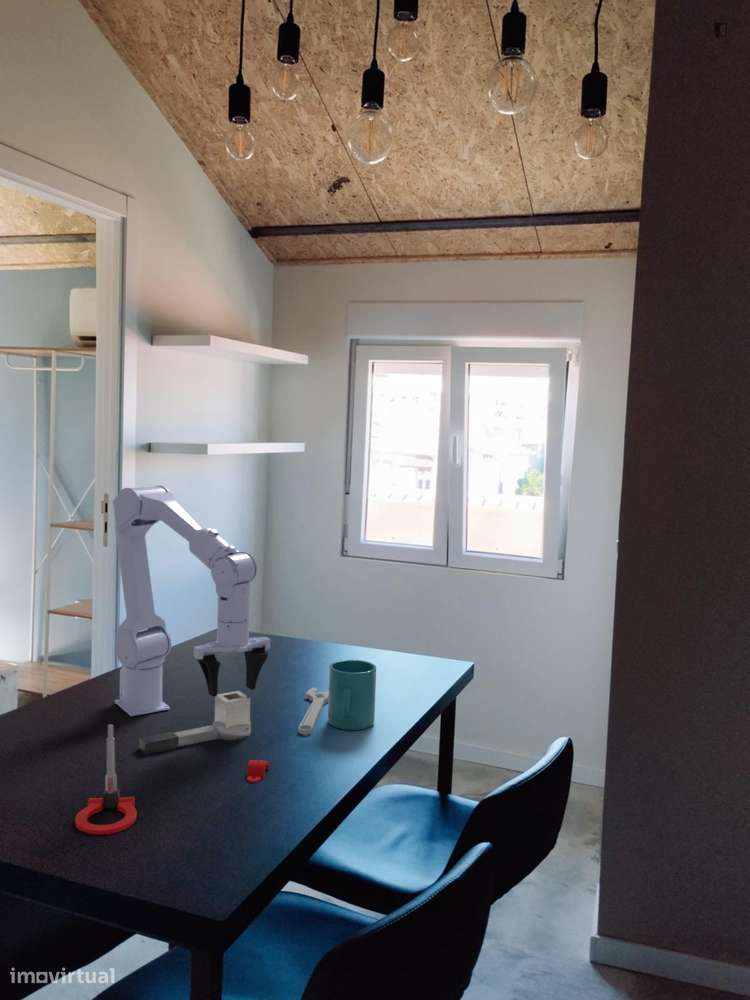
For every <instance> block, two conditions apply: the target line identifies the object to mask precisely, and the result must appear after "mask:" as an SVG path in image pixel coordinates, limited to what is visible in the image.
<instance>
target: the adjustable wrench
mask: <svg viewBox="0 0 750 1000" xmlns="http://www.w3.org/2000/svg"><path fill="white" fill-rule="evenodd" d="M327 689H328V690H326V691H319V690H318V688H317V687H315V686H313V687H311V688H309V689H308V690H307V692H305V693H304V694H305V695H304V699H305V698H306V699H310V700H311V701H313V702H311V701H310V700H309V701H310V702H311V704H310V705H309V707H308V709H307V711H306V712H305V715H304V716H303V718H302V720H301V721H300V724H299V725H298V732H299V733H300V734H303V735H302V736H308V735H307V734H310V735H312V734H313V733H312V732H314V730H315V728H316V725H317V723H316V722H318V721H317V720H319V718H320V716H321V713H322V711H323V709H322V708H324V706H325V705H326V704H328V703H327V702H328V698H329V685H328V688H327ZM306 699H305V700H306ZM325 703H326V704H325ZM324 704H325V705H324ZM323 705H324V706H323ZM321 710H322V711H321ZM320 712H321V713H320ZM319 715H320V716H319ZM318 717H319V718H318ZM314 727H315V728H314ZM313 729H314V730H313ZM299 733H298V734H299ZM311 733H312V734H311ZM300 734H299V735H300Z"/></svg>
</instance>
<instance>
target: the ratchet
mask: <svg viewBox="0 0 750 1000" xmlns="http://www.w3.org/2000/svg"><path fill="white" fill-rule="evenodd" d="M250 733H252V721H251V720H250V725H245V726H240V727H235V728H230V729H225V728H223V727H222V726H221V725H219V724H218V723H217V722H215V719H214V721H213V722H212V724H211V725H206V726H200V727H196V728H192V729H185V730H181V731H177V732H173V731H168V732H162V733H158V734H153V735H152V734H151V735H148V736H142V737H139V738H138V743H139V745H138V749H139V748H140V749H141V750H142V751H143V752H144V753H145V754H146V755H149V754H148V753H151V754H154V753H153V752H156V753H159V752H158V751H161V752H164V751H163V750H165V751H169V750H168V749H170V750H174V749H173V748H175V749H179V747H180V746H181V747H184V746H185V745H186V746H190V745H194V743H195V744H198V743H199V742H200V743H204V741H205V742H207V741H214V740H221V739H223V741H237V739H239V740H242V739H246V738H247V736H248V737H249V736H250V735H251V734H250ZM200 743H199V744H200ZM186 746H185V747H186ZM140 749H139V750H140ZM141 750H140V751H141ZM142 751H141V752H142ZM143 752H142V753H143ZM144 753H143V754H144ZM145 754H144V755H145Z"/></svg>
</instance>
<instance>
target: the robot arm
mask: <svg viewBox="0 0 750 1000" xmlns="http://www.w3.org/2000/svg"><path fill="white" fill-rule="evenodd" d="M112 505H113V514H114V521H115V526H114V527H115V528H114V529H115V537H116V546H117V553H118V561H119V569H120V577H121V582H122V584H121V585H122V590H123V600H124V601H123V602H124V606H125V614H126V617H125V619H124V620H123V621H122V623H120V625H119V626H118V627H117V629H116V643H115V654H116V657H117V658H116V659H118V661H119V663H120V664H121V668H120V671H119V699H115V700H114V704H116V705H118V706H119V708H121V709H122V710H123V711H124V712H125V713H126V714H127V715H129V717H134V716H141V715H146V714H152V713H157V712H162V711H167V710H170V706H169V705H168V704H167V703H166V702H164V701H163V663H164V662H166V656H168V655H169V654H170V652H171V649H172V639H171V635H170V633H169V631H168V630H167V627H166V626H167V625H166V620H165V619H164V618H162V617H161V616H159V615H158V614H156V612H155V611H156V609H155V603H154V594H153V586H152V580H151V573H150V565H149V557H148V556H149V555H148V549H147V542H146V535H147V533H148V532H149V530H150V529H151V528H152V527H153V526H154V525H155V524H157V523H158V522H160V521H161V522H163V523H164V524H165V525H167V526H168V527H169V528H170V529H172V530H173V531H174V532H176V533H177V534H178V535H179V536H180V537H182V538H184V539H185V540H186V541H187V542H188V549H189V551H190V553H191V554H192V555H193V556H195V557H196V558H197V559H198V560H199V561H200V562H201V563H203V564H204V565H205V566H206V568H208V569H209V570H210V573H211V574H210V575H211V579H212V580H213V583H214V584H215V593H216V594H217V625H216V627H217V631H216V633H217V635H216V636H217V637H216V641H212V642H208V643H205V644H202V645H196V646H193V657H194V658H195V659H196V660H197V662H198V664H199V666H200V668H201V671H202V673H203V675H204V678H205V681H206V686H207V691H208V694H209V695H210V696H212V697H214V698H215V696H217V695H218V691H219V690H218V687H219V685H218V684H219V683H218V678H219V673H220V667H221V664H222V663H221V662H220V661H219V660H217V657H218V656H223V655H224V656H225V655H232V654H238V653H244V658H245V667H246V668H245V669H246V670H245V671H246V672H245V685H246V688H248V689H250V690H251V691H253V690H254V691H255V689H256V685H257V681H258V678H259V674H260V672H261V670H262V669H263V666H264V664H265V662H266V661H267V659H268V657H269V656H268V655H269V653H268V650H271V639H270V638H268V637H267V636H262V637H261V636H259V637H249V636H250V603H251V593H250V592H251V582H253V581H254V579H256V576H257V573H258V566H257V562H256V560H255V558H254V557H253V556H252V554H251V553H250V552H248V551H239V550H237V549H236V547H235V546H234V545H231V544H229V542H227V541H226V540H225V539H224V538H222V536H220V535H219V534H220V532H219V531H218V530H217V529H216V528H209V527H204V528H202V527H201V526H200V524H198V523H197V522H196V521H195V519H194V518H192V517H191V515H189V514H188V513H187V511H185V509H184V508H183V506H181V505H180V504H179V503H178V502H177V499H176V495H175V493H173V492H171V491H170V490H169V489H168V488H167V487H166V486H164V485H156V486H146V487H144V486H143V487H125V488H122V489H121V490H120V491H119V492H118V493H117V495H116V496H115V497H114V499H113V501H112ZM266 650H267V651H266ZM216 656H217V657H216Z"/></svg>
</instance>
